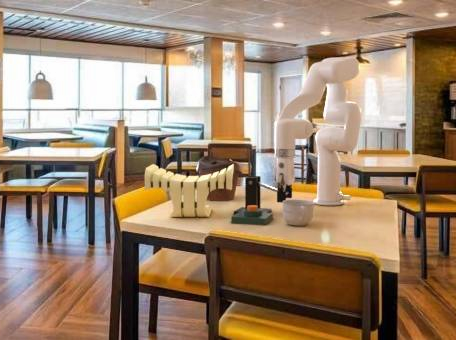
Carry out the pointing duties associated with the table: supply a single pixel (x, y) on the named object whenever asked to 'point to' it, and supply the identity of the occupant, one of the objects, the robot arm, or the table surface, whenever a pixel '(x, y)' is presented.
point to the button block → (252, 217)
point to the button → (252, 208)
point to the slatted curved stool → (188, 189)
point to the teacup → (298, 212)
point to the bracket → (252, 194)
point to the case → (217, 164)
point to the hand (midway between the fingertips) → (284, 200)
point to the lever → (269, 187)
